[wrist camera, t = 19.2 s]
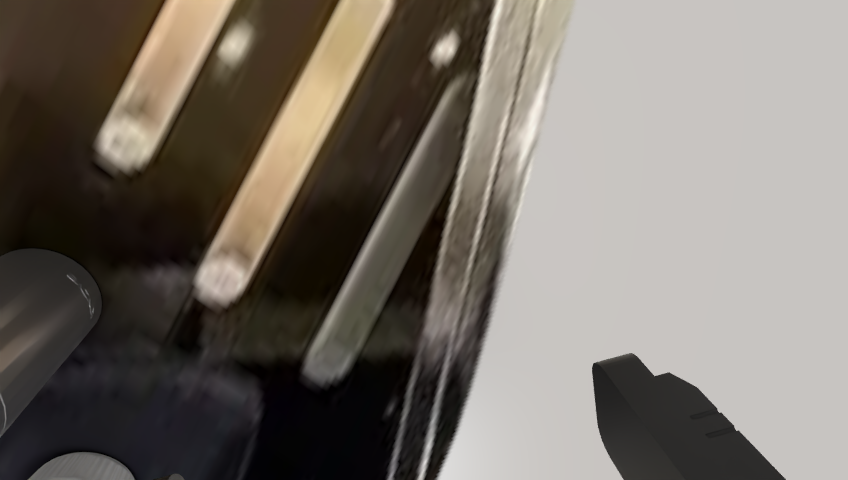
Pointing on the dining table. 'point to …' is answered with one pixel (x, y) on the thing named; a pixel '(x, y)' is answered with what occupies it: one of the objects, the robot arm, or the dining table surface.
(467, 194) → the dining table surface
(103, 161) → the dining table surface
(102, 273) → the dining table surface
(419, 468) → the dining table surface
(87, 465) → the ramekin
